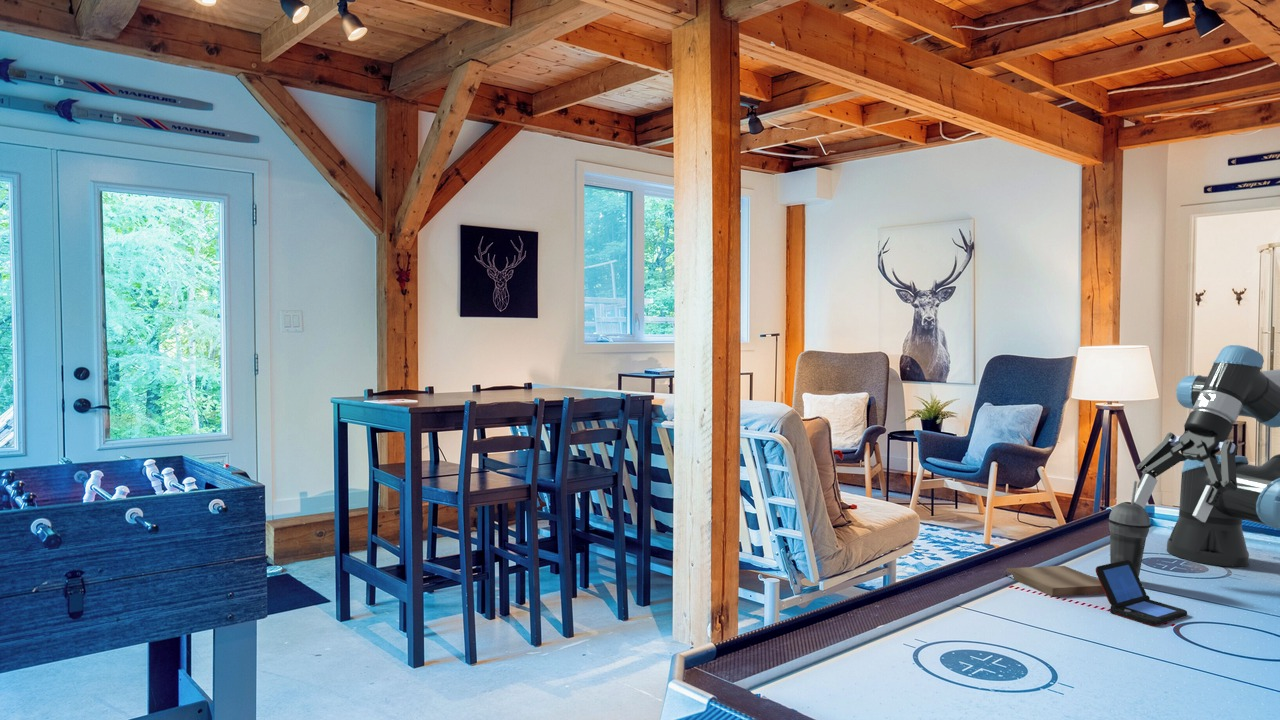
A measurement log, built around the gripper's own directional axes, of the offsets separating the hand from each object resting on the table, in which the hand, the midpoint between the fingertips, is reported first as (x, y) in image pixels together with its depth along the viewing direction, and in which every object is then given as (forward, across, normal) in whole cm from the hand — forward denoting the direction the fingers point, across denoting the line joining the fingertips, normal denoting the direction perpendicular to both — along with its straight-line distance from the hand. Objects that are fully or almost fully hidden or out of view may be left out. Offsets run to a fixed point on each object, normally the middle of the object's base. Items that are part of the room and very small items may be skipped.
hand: (1167, 511), depth 165 cm
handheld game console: (+23, +14, -11) cm, 29 cm away
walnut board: (+24, -1, -14) cm, 28 cm away
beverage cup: (+16, -2, 0) cm, 16 cm away
